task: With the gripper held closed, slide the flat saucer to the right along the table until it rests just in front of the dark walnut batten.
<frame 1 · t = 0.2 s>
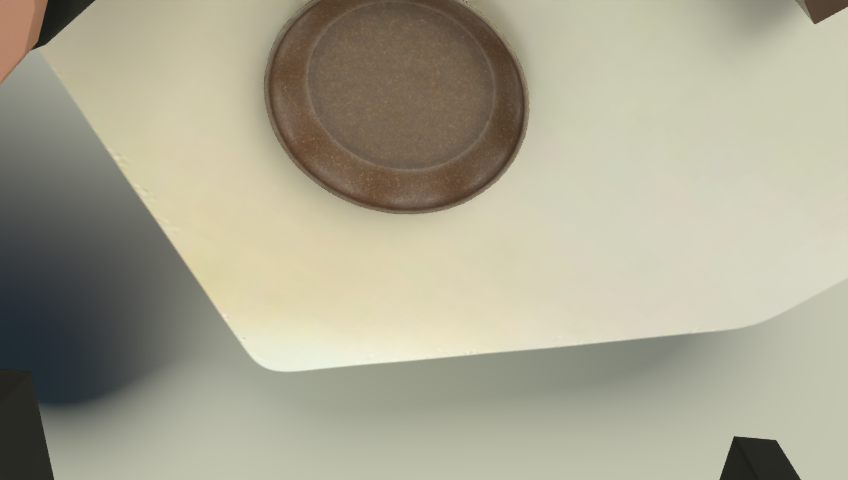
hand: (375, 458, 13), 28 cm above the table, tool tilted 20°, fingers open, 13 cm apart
saucer: (400, 87, 39), on the table
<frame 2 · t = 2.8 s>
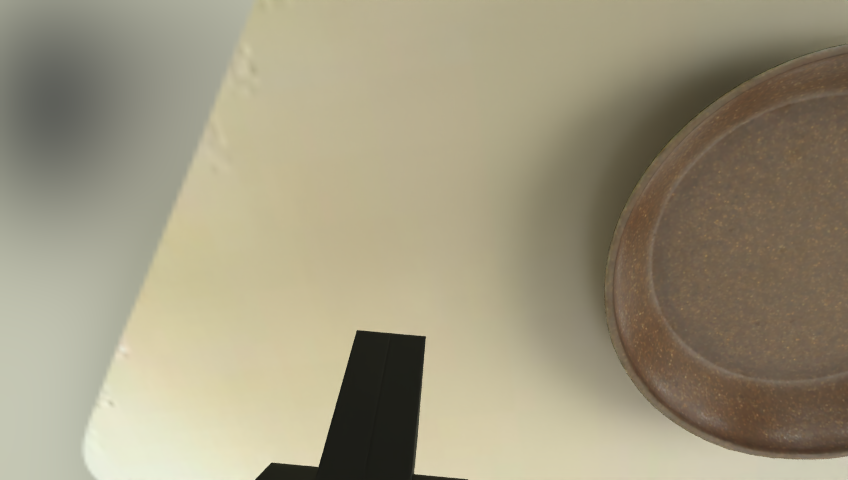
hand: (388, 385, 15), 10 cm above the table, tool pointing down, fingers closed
saucer: (802, 242, 24), on the table
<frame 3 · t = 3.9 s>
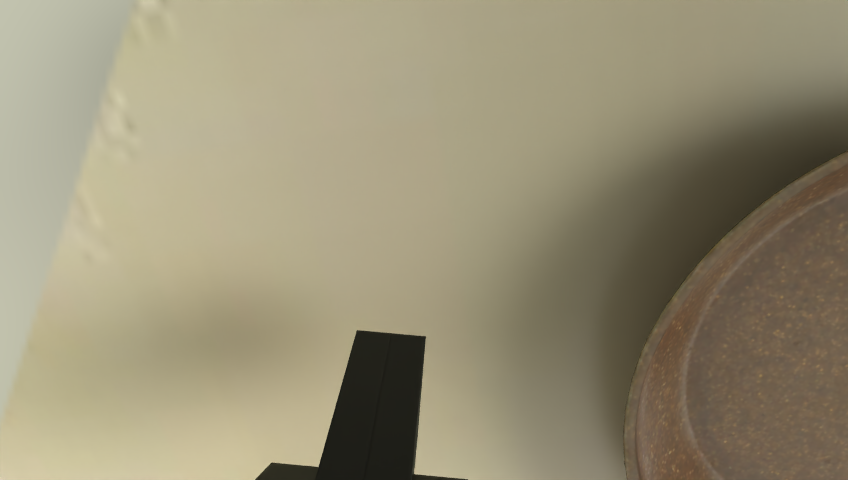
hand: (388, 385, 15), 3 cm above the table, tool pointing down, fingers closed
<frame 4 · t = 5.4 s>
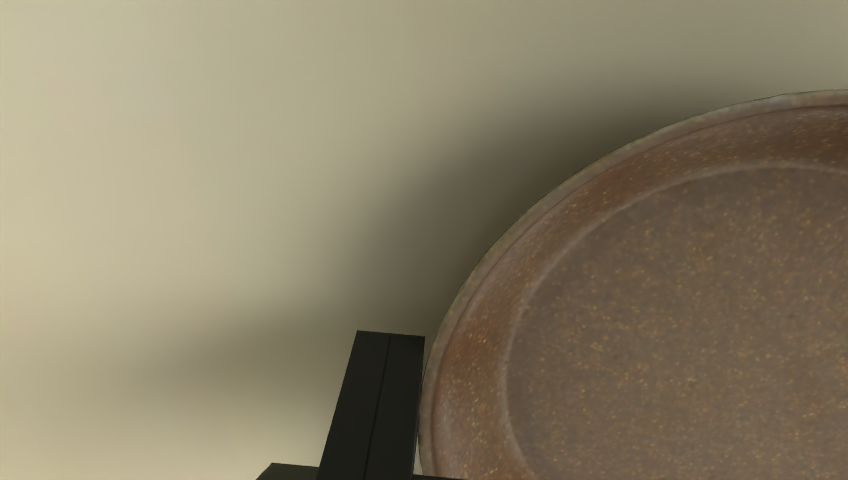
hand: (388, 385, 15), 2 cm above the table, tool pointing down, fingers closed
saucer: (723, 368, 16), on the table, touching gripper
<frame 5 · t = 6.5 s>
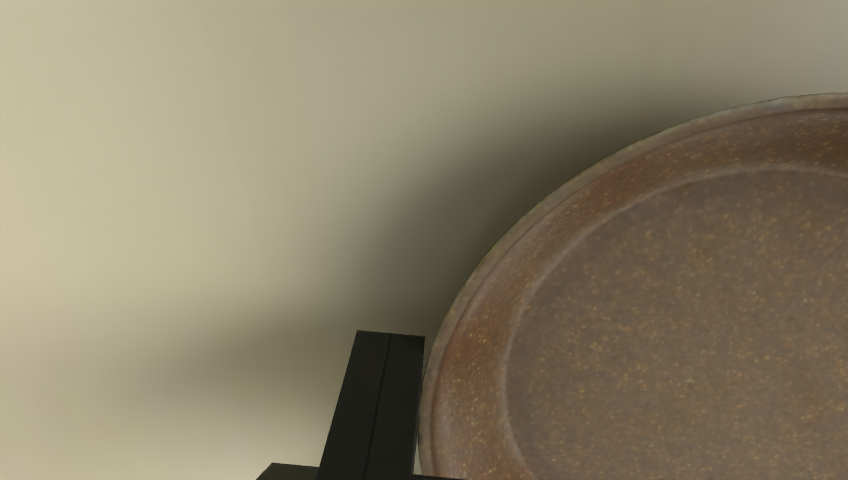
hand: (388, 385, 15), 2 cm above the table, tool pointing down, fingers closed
saucer: (721, 369, 16), on the table, touching gripper
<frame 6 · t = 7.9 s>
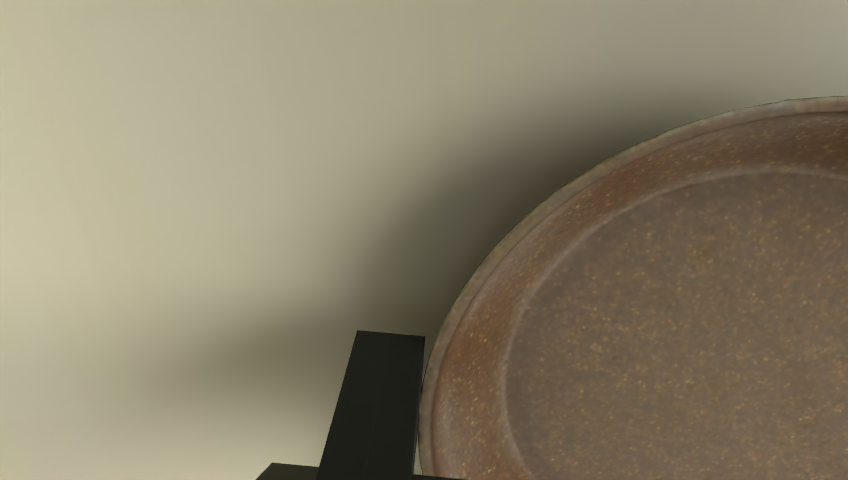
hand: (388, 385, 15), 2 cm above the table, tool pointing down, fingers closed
saucer: (720, 370, 17), on the table, touching gripper
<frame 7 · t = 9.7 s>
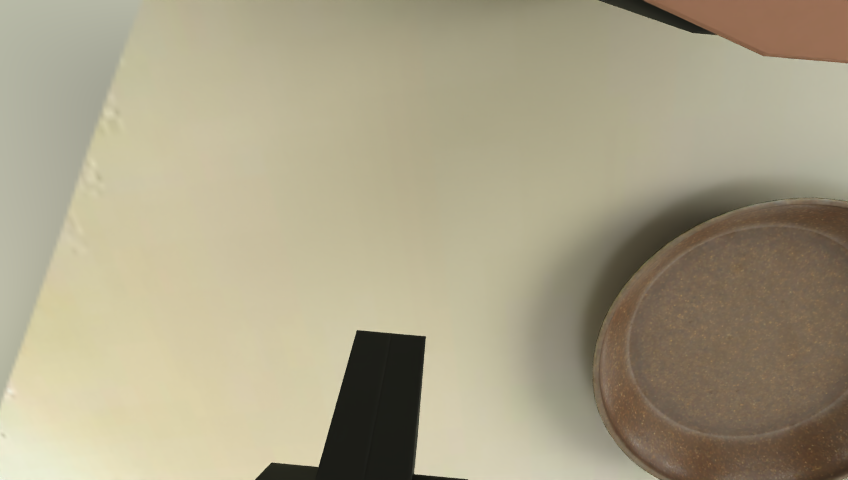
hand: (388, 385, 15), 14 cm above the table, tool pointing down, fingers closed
saucer: (745, 330, 30), on the table
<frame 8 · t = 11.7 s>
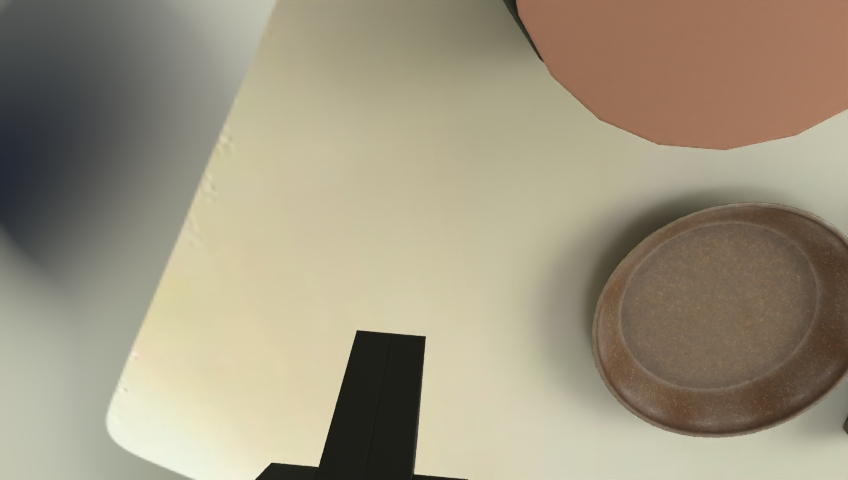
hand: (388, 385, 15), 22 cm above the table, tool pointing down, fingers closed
saucer: (712, 304, 39), on the table
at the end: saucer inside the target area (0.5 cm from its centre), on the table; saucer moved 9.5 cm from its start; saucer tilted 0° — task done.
